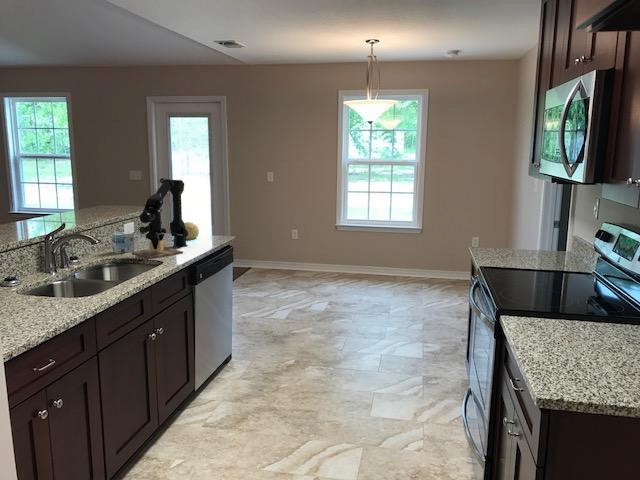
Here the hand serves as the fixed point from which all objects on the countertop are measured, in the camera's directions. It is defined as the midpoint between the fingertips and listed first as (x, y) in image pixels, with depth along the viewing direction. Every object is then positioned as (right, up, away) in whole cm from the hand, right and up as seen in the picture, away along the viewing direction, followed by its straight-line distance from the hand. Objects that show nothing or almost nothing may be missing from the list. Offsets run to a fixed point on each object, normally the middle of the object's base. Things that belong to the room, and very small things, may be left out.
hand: (157, 248), depth 283 cm
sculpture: (+5, +5, +50) cm, 50 cm away
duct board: (-1, -3, +4) cm, 5 cm away
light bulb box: (-21, -2, +8) cm, 23 cm away
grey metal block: (0, -3, +1) cm, 4 cm away
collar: (0, -1, 0) cm, 1 cm away
